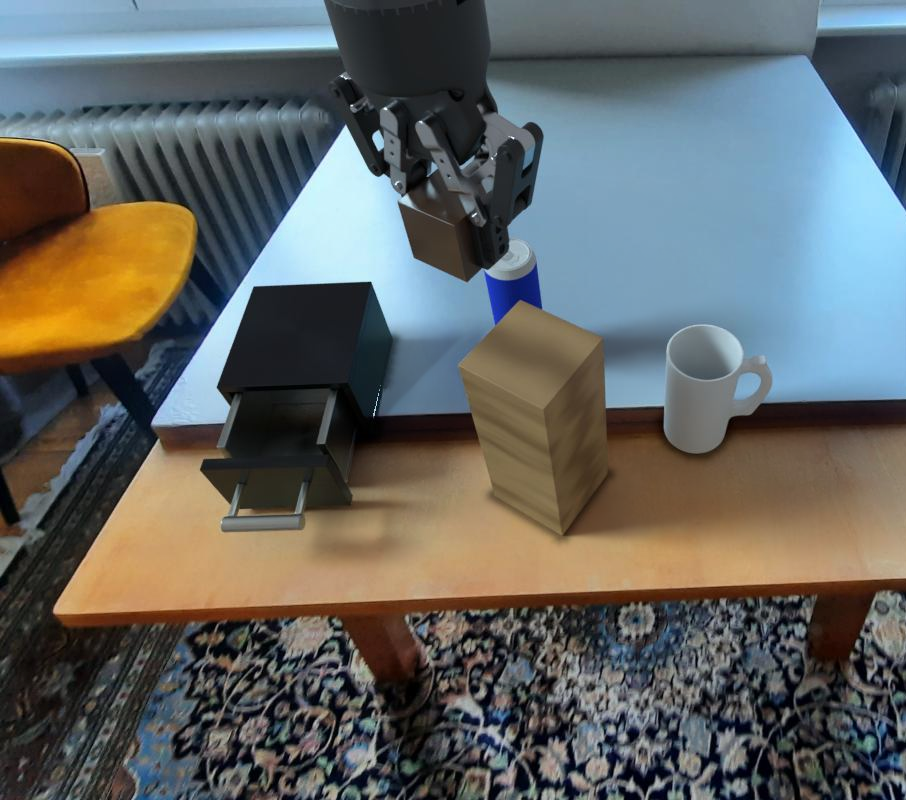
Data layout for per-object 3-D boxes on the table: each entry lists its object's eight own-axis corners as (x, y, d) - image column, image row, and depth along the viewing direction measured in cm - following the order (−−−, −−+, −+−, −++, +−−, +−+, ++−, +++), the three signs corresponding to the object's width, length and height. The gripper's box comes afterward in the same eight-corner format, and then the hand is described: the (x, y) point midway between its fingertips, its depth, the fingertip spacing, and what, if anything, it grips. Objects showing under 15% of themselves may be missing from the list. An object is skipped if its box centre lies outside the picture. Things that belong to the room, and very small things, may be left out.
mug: (662, 456, 73) (668, 382, 63) (659, 402, 77) (664, 324, 67) (764, 455, 72) (786, 380, 63) (756, 401, 76) (775, 322, 67)
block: (467, 282, 46) (454, 226, 42) (413, 258, 48) (396, 201, 44) (510, 241, 48) (501, 184, 45) (457, 219, 50) (444, 162, 46)
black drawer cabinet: (374, 437, 76) (347, 382, 69) (254, 441, 76) (216, 387, 69) (393, 338, 84) (371, 281, 77) (285, 343, 85) (253, 286, 77)
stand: (562, 536, 68) (543, 409, 52) (494, 496, 71) (457, 364, 55) (608, 473, 72) (603, 337, 56) (542, 438, 75) (520, 299, 59)
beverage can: (556, 349, 82) (545, 246, 70) (530, 380, 80) (514, 279, 68) (519, 332, 84) (502, 229, 72) (492, 362, 81) (470, 260, 69)
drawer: (341, 551, 67) (315, 513, 62) (220, 554, 68) (182, 517, 62) (372, 401, 78) (351, 357, 72) (266, 405, 78) (237, 361, 72)
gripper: (233, -35, 35) (341, 243, 48) (466, 35, 30) (514, 325, 43) (344, -91, 39) (416, 182, 52) (570, -37, 33) (584, 251, 47)
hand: (461, 246), depth 48 cm, fingers closed on block, 4 cm apart
